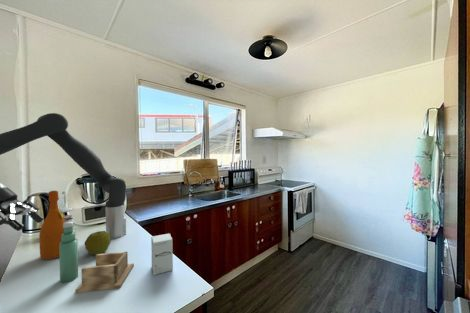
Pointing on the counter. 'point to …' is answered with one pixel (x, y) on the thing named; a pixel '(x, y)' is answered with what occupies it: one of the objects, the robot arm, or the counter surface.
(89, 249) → the apple
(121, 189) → the robot arm
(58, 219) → the wine bottle
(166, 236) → the supplement box
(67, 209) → the french press
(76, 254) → the green bottle
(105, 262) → the U stand
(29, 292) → the counter surface
